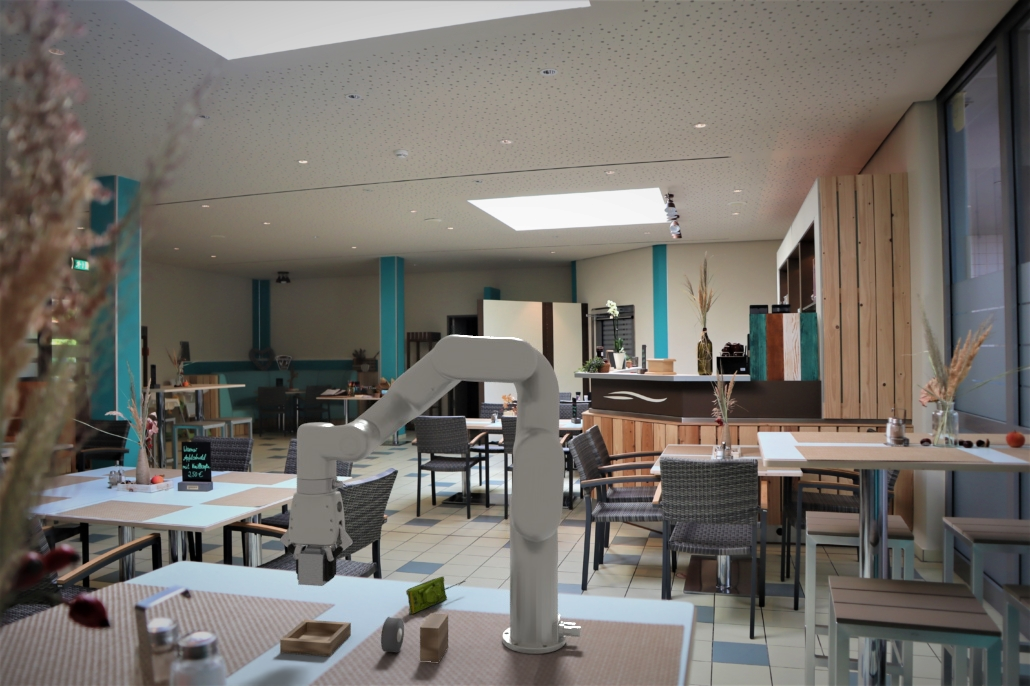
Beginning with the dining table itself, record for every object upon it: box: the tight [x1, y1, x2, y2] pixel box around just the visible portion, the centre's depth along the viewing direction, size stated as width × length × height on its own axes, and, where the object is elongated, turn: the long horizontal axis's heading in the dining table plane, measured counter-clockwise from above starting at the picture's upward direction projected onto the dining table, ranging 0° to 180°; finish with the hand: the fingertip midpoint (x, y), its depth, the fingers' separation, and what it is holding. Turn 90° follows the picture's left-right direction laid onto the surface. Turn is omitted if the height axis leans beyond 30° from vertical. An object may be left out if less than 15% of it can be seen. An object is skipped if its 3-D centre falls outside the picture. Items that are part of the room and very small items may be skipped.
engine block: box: [297, 545, 328, 587], centre depth 137 cm, size 5×5×7 cm
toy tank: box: [405, 575, 466, 615], centre depth 159 cm, size 7×19×10 cm
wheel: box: [380, 617, 405, 653], centre depth 133 cm, size 3×6×6 cm, turn 171°
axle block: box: [419, 612, 449, 663], centre depth 132 cm, size 4×7×6 cm, turn 171°
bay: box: [279, 619, 352, 657], centre depth 137 cm, size 10×10×2 cm
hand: (316, 577), depth 137 cm, fingers closed on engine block, 5 cm apart
